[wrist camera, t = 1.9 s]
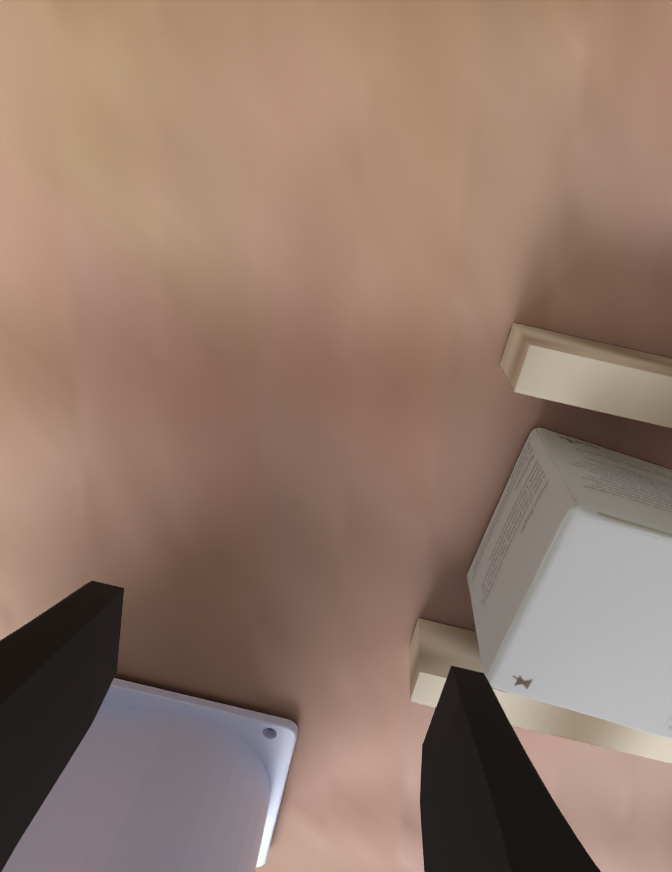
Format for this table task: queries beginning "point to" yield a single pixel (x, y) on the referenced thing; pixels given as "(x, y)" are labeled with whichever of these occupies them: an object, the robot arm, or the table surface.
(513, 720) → the parallel cream rails
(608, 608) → the small box
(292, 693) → the table surface
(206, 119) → the table surface
